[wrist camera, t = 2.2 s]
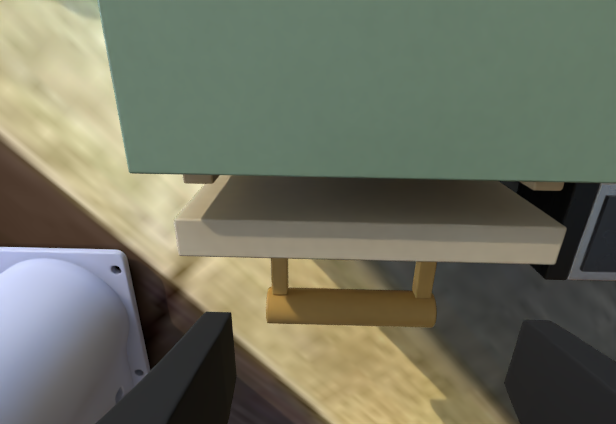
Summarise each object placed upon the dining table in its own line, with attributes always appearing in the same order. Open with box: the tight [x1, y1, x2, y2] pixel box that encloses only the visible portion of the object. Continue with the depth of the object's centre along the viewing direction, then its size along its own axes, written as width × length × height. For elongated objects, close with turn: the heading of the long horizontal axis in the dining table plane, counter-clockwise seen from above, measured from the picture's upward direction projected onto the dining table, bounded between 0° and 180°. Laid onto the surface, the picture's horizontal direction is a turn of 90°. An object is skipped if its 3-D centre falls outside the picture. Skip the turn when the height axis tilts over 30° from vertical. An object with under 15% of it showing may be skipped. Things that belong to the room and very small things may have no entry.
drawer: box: [174, 174, 567, 327], centre depth 12 cm, size 17×11×6 cm, turn 179°
